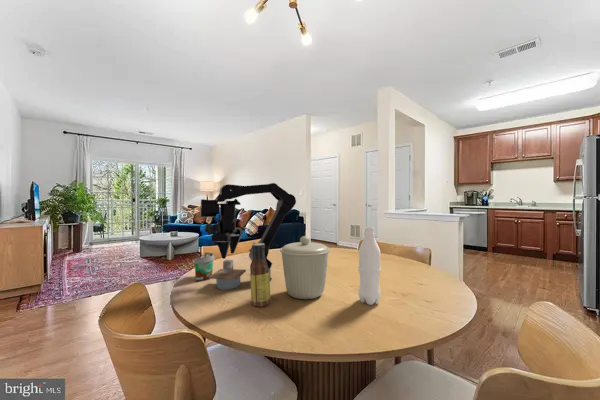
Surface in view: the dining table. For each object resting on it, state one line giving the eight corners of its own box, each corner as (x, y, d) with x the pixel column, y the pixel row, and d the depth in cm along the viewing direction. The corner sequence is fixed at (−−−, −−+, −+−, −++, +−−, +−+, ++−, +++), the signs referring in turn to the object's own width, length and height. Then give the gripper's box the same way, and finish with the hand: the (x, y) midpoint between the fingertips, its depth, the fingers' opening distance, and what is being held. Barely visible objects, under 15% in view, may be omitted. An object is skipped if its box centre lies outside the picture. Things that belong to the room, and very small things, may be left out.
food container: (209, 282, 111) (208, 258, 111) (194, 282, 112) (193, 258, 111) (218, 274, 124) (218, 252, 124) (205, 273, 124) (205, 252, 124)
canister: (328, 306, 88) (328, 241, 87) (274, 302, 91) (274, 239, 90) (331, 287, 106) (331, 233, 105) (286, 284, 109) (285, 232, 108)
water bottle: (368, 308, 86) (368, 229, 85) (354, 300, 92) (354, 227, 92) (385, 303, 89) (385, 228, 89) (370, 296, 96) (370, 225, 95)
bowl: (243, 282, 111) (243, 271, 111) (235, 290, 102) (235, 278, 102) (221, 281, 112) (221, 271, 112) (212, 289, 103) (212, 277, 103)
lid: (246, 271, 112) (245, 257, 112) (237, 279, 101) (237, 264, 101) (220, 270, 113) (220, 257, 113) (208, 278, 102) (208, 263, 102)
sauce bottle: (273, 301, 92) (273, 242, 91) (265, 309, 86) (264, 246, 85) (256, 299, 94) (255, 241, 93) (246, 306, 88) (246, 245, 87)
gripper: (217, 214, 117) (218, 250, 117) (197, 218, 99) (197, 261, 99) (243, 214, 116) (243, 251, 116) (226, 218, 97) (227, 261, 98)
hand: (228, 255), depth 107 cm, fingers open, 9 cm apart
